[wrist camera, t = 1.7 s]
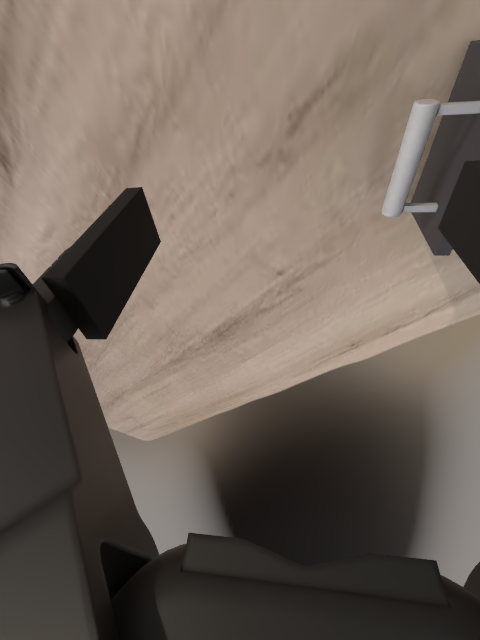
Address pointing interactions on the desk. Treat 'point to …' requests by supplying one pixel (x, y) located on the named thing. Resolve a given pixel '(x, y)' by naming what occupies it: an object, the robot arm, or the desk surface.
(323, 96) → the desk surface
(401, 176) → the drawer
